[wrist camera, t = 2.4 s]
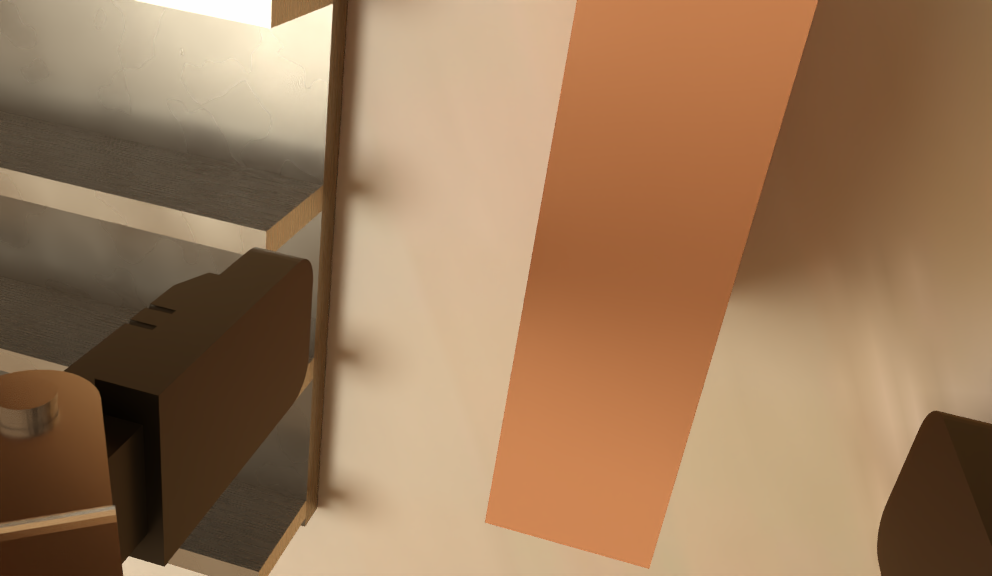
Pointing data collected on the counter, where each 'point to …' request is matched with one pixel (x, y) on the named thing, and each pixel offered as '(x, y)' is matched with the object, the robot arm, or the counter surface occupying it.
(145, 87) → the dish rack
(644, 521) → the upright orange slab
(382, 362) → the counter surface
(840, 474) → the counter surface
